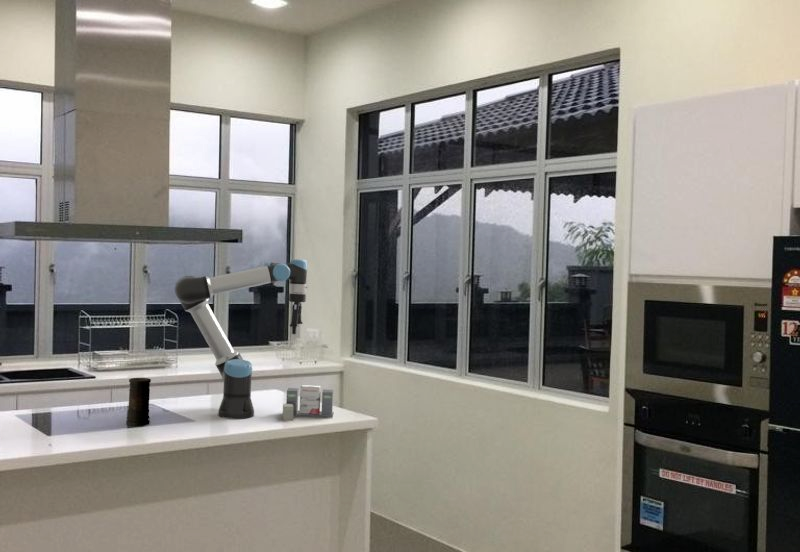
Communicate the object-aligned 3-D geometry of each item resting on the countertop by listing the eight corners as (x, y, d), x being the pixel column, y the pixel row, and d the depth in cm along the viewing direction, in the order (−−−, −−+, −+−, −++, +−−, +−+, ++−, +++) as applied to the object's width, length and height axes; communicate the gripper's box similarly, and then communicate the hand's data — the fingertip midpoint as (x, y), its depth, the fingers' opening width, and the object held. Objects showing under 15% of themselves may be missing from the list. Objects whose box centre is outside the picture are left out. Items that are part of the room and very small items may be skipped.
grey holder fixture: (284, 415, 347) (285, 390, 346) (286, 412, 355) (287, 387, 354) (332, 417, 347) (333, 392, 347) (333, 414, 355) (334, 389, 355)
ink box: (320, 412, 354) (321, 385, 353) (318, 414, 349) (319, 387, 348) (300, 410, 354) (301, 384, 354) (298, 413, 349) (300, 386, 349)
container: (125, 421, 320) (127, 377, 320) (149, 421, 323) (150, 377, 323) (126, 426, 312) (128, 381, 311) (150, 425, 315) (152, 380, 314)
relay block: (283, 420, 337) (284, 406, 337) (282, 417, 343) (283, 403, 343) (292, 420, 338) (293, 406, 338) (291, 417, 344) (292, 403, 344)
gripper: (302, 294, 350) (300, 343, 350) (308, 292, 374) (306, 337, 375) (285, 294, 349) (283, 342, 350) (292, 291, 374) (290, 336, 375)
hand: (295, 339), depth 362 cm, fingers open, 13 cm apart
